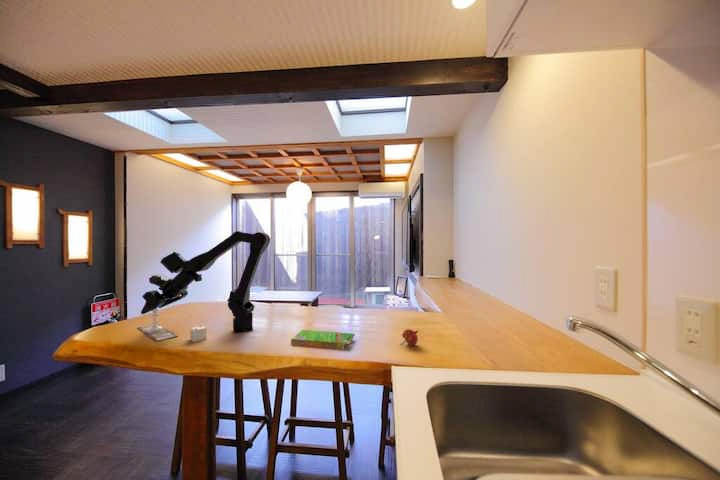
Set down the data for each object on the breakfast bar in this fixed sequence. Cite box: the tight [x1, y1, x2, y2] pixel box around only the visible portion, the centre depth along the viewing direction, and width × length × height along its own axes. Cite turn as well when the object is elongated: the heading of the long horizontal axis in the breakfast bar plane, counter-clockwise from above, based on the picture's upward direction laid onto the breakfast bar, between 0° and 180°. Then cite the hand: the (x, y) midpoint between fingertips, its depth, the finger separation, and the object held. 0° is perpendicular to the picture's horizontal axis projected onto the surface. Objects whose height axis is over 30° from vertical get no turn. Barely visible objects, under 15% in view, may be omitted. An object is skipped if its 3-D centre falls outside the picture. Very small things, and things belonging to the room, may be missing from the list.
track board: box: [137, 323, 179, 343], centre depth 100 cm, size 23×6×1 cm, turn 53°
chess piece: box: [147, 307, 164, 332], centre depth 101 cm, size 5×5×10 cm
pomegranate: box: [400, 328, 419, 347], centre depth 90 cm, size 6×6×8 cm
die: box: [189, 325, 208, 343], centre depth 93 cm, size 4×4×4 cm
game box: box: [290, 329, 356, 350], centre depth 92 cm, size 3×10×20 cm
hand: (150, 310), depth 101 cm, fingers open, 9 cm apart
